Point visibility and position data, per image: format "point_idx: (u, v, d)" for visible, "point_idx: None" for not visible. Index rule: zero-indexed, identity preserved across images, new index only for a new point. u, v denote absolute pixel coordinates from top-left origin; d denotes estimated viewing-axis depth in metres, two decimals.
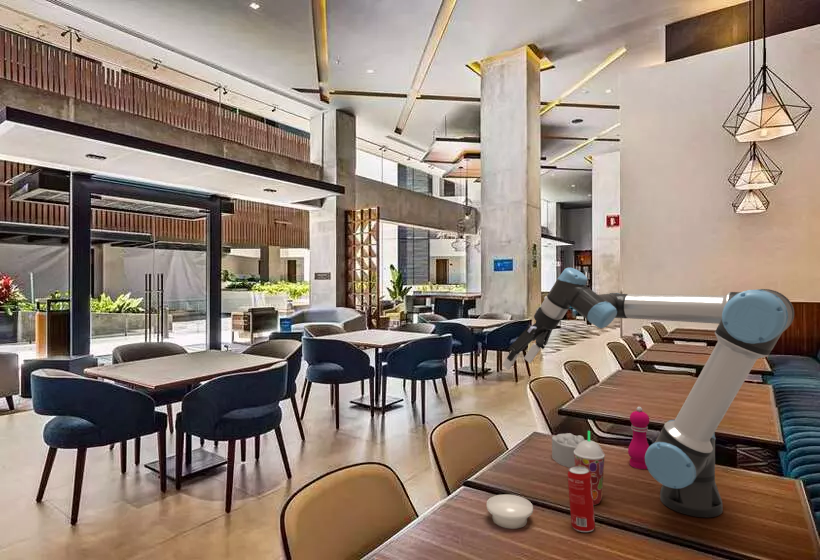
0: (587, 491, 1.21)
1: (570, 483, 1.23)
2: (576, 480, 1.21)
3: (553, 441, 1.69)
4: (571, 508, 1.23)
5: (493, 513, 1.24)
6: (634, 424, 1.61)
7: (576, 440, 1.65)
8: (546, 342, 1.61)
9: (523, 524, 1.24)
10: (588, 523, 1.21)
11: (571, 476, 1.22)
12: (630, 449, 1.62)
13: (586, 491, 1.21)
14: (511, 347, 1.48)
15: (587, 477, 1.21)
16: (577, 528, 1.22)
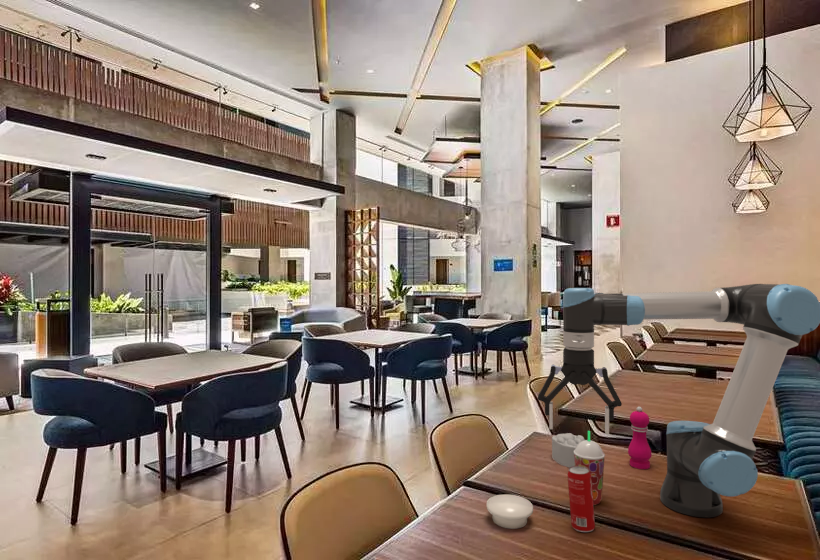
0: (587, 491, 1.21)
1: (570, 483, 1.23)
2: (576, 480, 1.21)
3: (553, 441, 1.69)
4: (571, 508, 1.23)
5: (493, 513, 1.24)
6: (634, 424, 1.61)
7: (576, 440, 1.65)
8: None
9: (523, 524, 1.24)
10: (588, 523, 1.21)
11: (571, 476, 1.22)
12: (630, 449, 1.62)
13: (586, 491, 1.21)
14: (620, 402, 1.20)
15: (587, 477, 1.21)
16: (577, 528, 1.22)
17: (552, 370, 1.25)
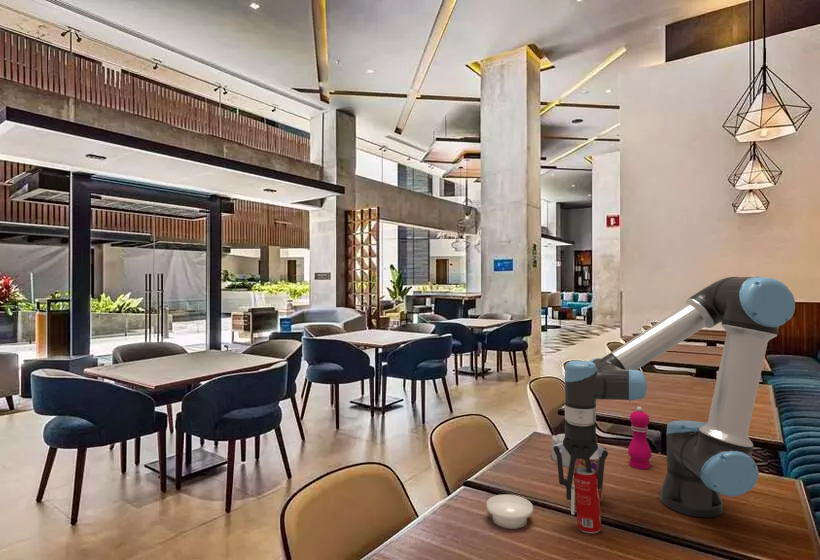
0: (593, 492, 1.20)
1: (576, 484, 1.22)
2: (582, 481, 1.21)
3: (553, 441, 1.69)
4: (577, 509, 1.23)
5: (493, 513, 1.24)
6: (634, 424, 1.61)
7: None
8: None
9: (523, 524, 1.24)
10: (594, 524, 1.20)
11: (577, 477, 1.22)
12: (630, 449, 1.62)
13: (592, 492, 1.20)
14: (601, 485, 1.21)
15: (593, 478, 1.21)
16: (583, 529, 1.21)
17: (556, 451, 1.24)
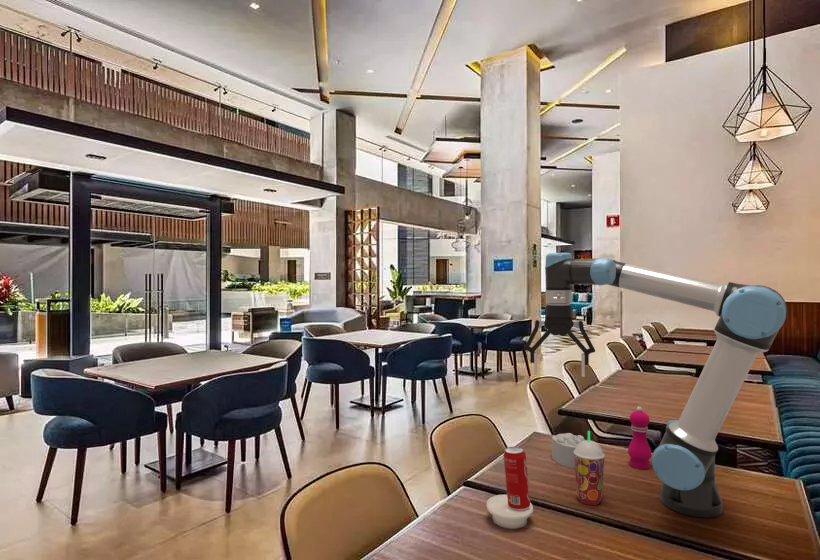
0: (520, 470, 1.24)
1: (505, 463, 1.26)
2: (509, 460, 1.25)
3: (553, 441, 1.69)
4: (507, 487, 1.27)
5: (493, 513, 1.24)
6: (634, 424, 1.61)
7: (576, 440, 1.65)
8: None
9: (523, 524, 1.24)
10: (521, 501, 1.24)
11: (505, 456, 1.26)
12: (630, 449, 1.62)
13: (519, 470, 1.24)
14: None
15: (520, 456, 1.24)
16: (511, 506, 1.25)
17: (536, 324, 1.45)
